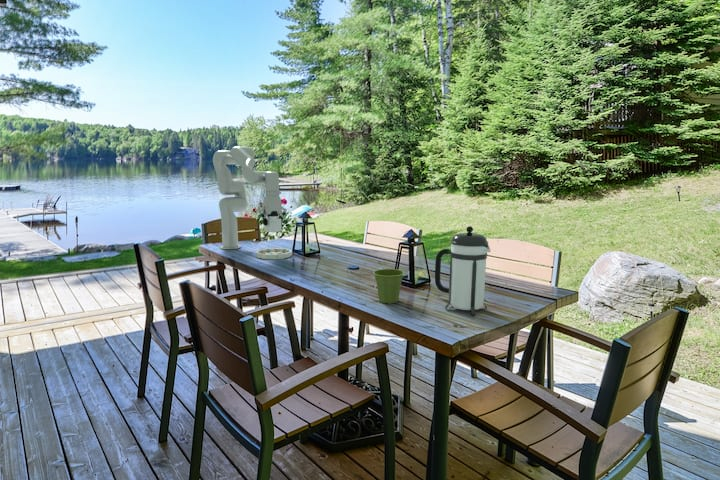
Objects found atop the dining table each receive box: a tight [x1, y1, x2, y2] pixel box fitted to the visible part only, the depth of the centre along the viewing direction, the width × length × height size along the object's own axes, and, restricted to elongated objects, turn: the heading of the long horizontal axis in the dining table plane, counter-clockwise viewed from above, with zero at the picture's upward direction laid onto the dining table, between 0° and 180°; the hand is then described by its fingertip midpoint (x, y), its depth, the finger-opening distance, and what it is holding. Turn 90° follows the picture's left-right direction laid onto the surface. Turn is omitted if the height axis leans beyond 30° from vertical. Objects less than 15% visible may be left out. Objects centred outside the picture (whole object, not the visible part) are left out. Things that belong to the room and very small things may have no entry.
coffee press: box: [434, 225, 491, 317], centre depth 153 cm, size 17×16×30 cm
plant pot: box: [372, 268, 406, 304], centre depth 163 cm, size 12×12×11 cm
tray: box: [255, 247, 293, 260], centre depth 248 cm, size 20×20×3 cm
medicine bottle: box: [263, 211, 283, 233], centre depth 245 cm, size 7×7×12 cm
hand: (273, 224), depth 245 cm, fingers closed on medicine bottle, 8 cm apart
